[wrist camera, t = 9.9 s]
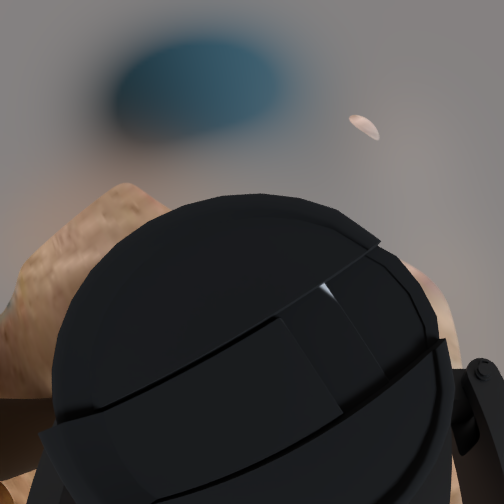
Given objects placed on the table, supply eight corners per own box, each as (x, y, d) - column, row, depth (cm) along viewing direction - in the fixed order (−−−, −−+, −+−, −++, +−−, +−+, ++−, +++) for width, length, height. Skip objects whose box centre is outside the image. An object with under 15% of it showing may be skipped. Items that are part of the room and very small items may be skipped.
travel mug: (224, 346, 22) (-7, 311, 4) (295, 302, 23) (313, 96, 4) (265, 411, 20) (165, 608, 1) (338, 367, 21) (537, 427, 2)
